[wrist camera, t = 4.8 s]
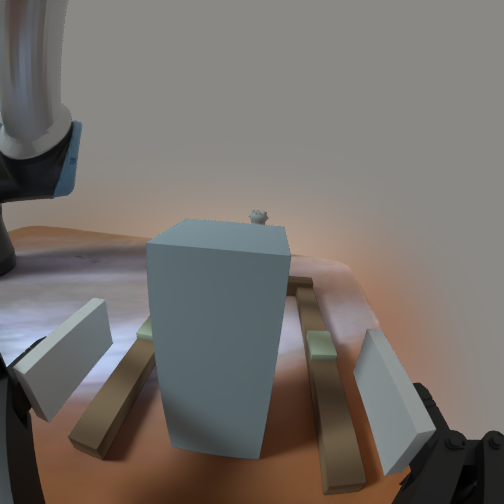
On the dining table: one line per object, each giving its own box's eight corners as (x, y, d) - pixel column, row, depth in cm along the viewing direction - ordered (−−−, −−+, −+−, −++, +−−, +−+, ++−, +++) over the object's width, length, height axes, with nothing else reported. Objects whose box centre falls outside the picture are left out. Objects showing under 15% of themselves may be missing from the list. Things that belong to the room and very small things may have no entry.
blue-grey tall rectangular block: (258, 459, 13) (291, 255, 9) (171, 446, 13) (145, 242, 9) (262, 401, 17) (284, 226, 14) (190, 392, 18) (186, 218, 14)
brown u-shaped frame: (358, 491, 10) (371, 477, 9) (74, 448, 11) (64, 430, 10) (309, 290, 37) (311, 277, 36) (189, 279, 37) (189, 266, 37)
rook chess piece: (237, 255, 50) (240, 209, 47) (256, 252, 52) (260, 209, 50) (253, 262, 46) (257, 214, 44) (273, 258, 49) (278, 213, 47)
